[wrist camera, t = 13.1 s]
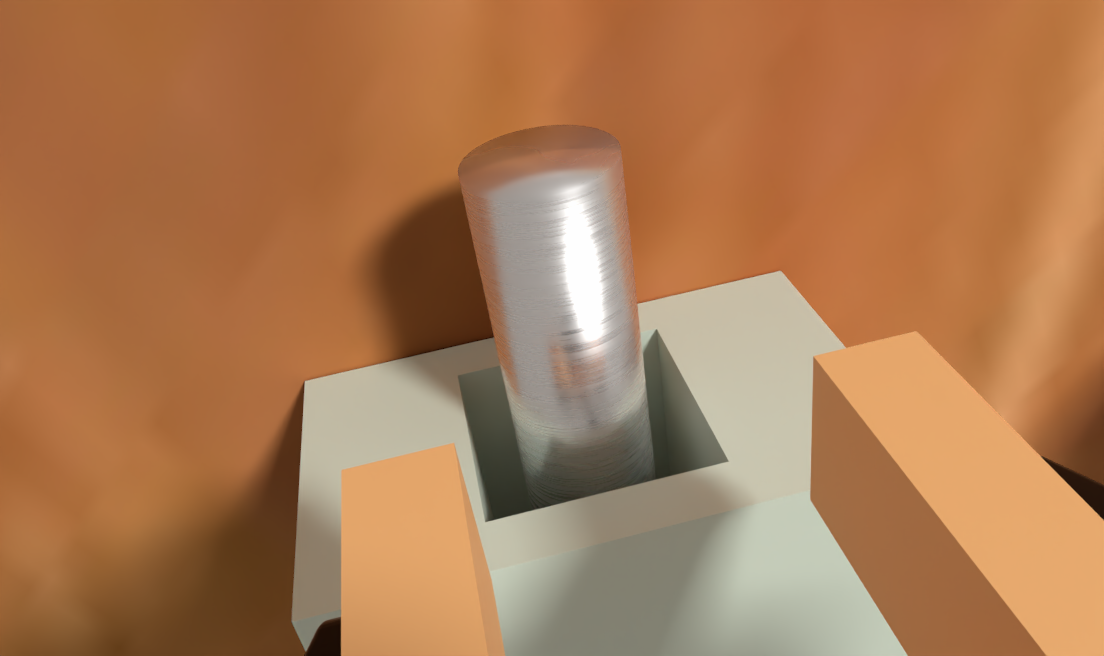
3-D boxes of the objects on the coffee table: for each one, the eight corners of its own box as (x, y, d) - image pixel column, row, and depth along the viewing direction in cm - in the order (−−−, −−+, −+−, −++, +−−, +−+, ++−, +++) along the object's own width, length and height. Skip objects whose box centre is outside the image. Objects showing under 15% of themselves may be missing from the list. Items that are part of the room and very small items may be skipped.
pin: (685, 574, 22) (753, 736, 19) (511, 619, 22) (545, 793, 18) (641, 81, 15) (737, 186, 12) (384, 135, 15) (398, 261, 11)
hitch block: (780, 478, 22) (907, 688, 17) (379, 579, 21) (391, 831, 16) (780, 270, 19) (938, 457, 14) (304, 381, 18) (291, 621, 13)
